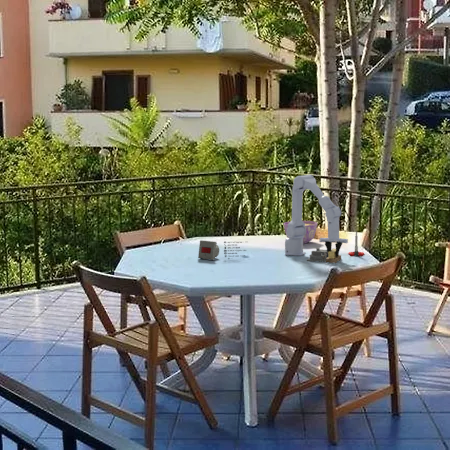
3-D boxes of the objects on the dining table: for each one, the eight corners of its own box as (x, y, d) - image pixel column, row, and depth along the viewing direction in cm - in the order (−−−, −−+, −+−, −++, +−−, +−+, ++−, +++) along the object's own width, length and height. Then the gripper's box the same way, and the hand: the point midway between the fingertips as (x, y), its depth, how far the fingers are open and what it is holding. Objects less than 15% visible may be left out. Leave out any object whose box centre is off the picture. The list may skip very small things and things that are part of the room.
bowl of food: (319, 245, 457) (319, 225, 456) (284, 246, 458) (284, 226, 456) (315, 239, 477) (315, 220, 476) (282, 240, 478) (282, 221, 476)
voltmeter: (197, 261, 420) (197, 242, 418) (198, 257, 431) (198, 239, 429) (248, 260, 419) (247, 241, 418) (247, 256, 431) (247, 238, 429)
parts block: (326, 262, 407) (326, 258, 407) (331, 258, 417) (331, 254, 417) (335, 262, 405) (335, 259, 405) (341, 258, 415) (341, 255, 415)
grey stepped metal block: (307, 261, 412) (306, 251, 411) (316, 255, 427) (316, 245, 427) (325, 262, 408) (325, 252, 407) (334, 256, 424) (334, 246, 423)
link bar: (328, 258, 407) (328, 251, 407) (333, 255, 415) (333, 248, 415) (334, 258, 406) (334, 251, 406) (338, 255, 414) (338, 248, 414)
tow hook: (348, 253, 432) (348, 256, 423) (348, 230, 430) (348, 232, 421) (364, 253, 430) (364, 256, 421) (364, 230, 429) (364, 232, 420)
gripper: (317, 231, 408) (317, 257, 410) (345, 232, 402) (345, 258, 404) (321, 228, 414) (321, 254, 416) (348, 229, 409) (348, 255, 411)
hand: (333, 256), depth 411 cm, fingers closed on link bar, 3 cm apart
